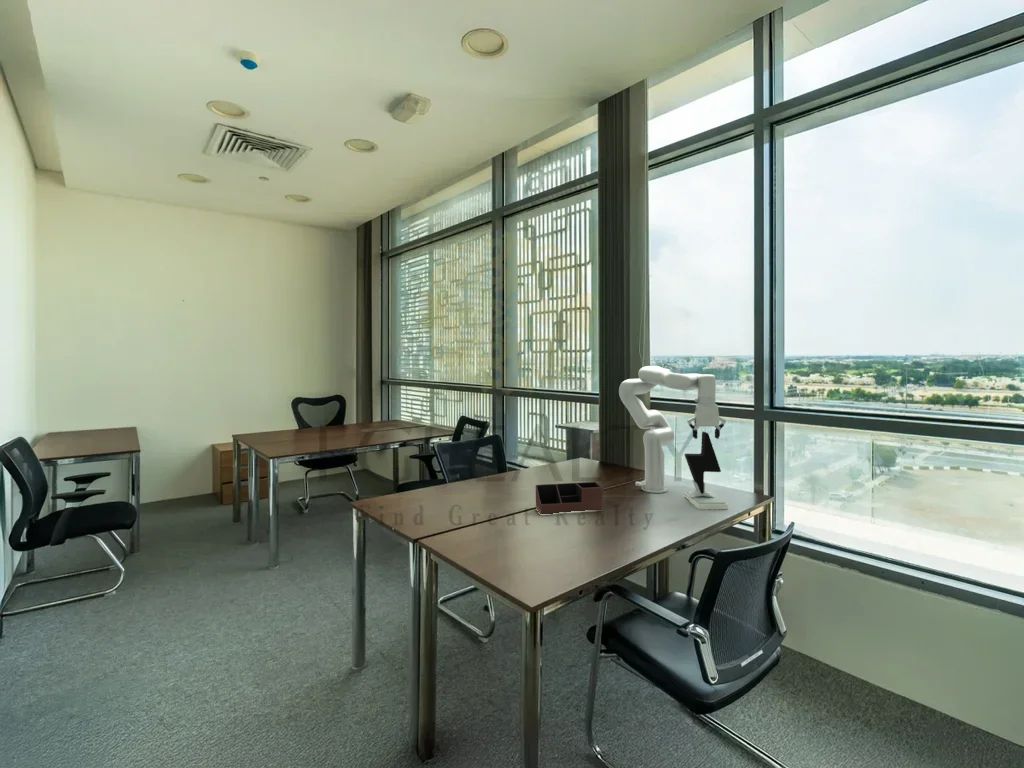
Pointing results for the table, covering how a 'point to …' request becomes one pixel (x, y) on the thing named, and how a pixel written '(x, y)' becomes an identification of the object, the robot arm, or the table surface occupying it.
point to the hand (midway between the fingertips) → (706, 438)
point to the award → (702, 465)
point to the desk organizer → (569, 497)
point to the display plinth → (707, 501)
